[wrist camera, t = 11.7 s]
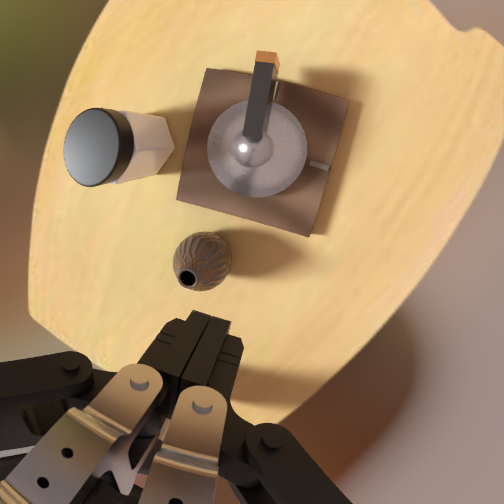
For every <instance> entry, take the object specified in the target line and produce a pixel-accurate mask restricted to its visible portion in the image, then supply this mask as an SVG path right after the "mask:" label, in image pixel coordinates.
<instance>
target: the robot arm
mask: <svg viewBox="0 0 504 504" xmlns="http://www.w3.org/2000/svg"><path fill="white" fill-rule="evenodd" d="M230 325H231V321H227V320H224V319H221V318H217V317H214V316H211V315H207V314H204V313H201V312H198V311H195V310H193V311H192V312H191V314H190V315H189V317H188V318H187V320H186V321H184V320H181V319H178V318H175V319H174V320H172V321H170V322H168V323H166V324H165V326H164V327H163V328H162V330H161V331H160V333H159V334H158V335H157V337H156V338H155V340H154V341H153V342H152V343H151V345H150V346H149V347H148V349H147V350H146V352H145V353H144V354H143V356H142V357H141V359H140V360H139V361H138V363H137V364H131V365H127V366H125V367H123V368H122V369H121V370H120V371H119V372H108V371H102V370H97V369H93V368H92V363H91V361H90V360H89V358H88V357H86V356H85V355H83V354H81V353H79V352H74V351H67V352H62V353H56V354H50V355H44V356H39V357H33V358H27V359H20V360H14V361H8V362H0V451H3V450H10V449H17V448H23V447H28V446H34V445H35V446H34V447H33V448H32V450H31V451H30V452H29V453H24V454H19V455H13V456H7V457H2V458H0V504H213V499H214V494H215V488H216V482H217V476H218V475H220V476H221V477H223V478H225V479H227V480H228V484H229V485H230V487H231V489H232V490H233V492H234V493H235V495H236V497H237V498H238V500H239V501H240V503H241V504H352V503H351V502H350V500H348V498H347V497H346V496H345V495H344V494H343V493H342V492H341V491H340V490H339V489H338V488H337V486H336V485H335V484H334V483H333V482H332V481H331V480H330V479H329V477H328V476H327V475H326V474H325V473H324V472H323V471H322V469H321V468H320V467H319V466H318V465H317V464H316V463H315V461H314V460H313V459H312V458H311V457H310V455H309V454H308V453H307V452H306V451H305V450H304V448H303V447H302V446H301V445H300V443H299V442H298V441H297V440H296V438H295V437H294V436H293V435H292V434H291V433H290V431H288V430H287V429H286V428H284V427H282V426H280V425H277V424H273V423H262V424H258V425H256V426H254V425H253V424H251V423H249V422H247V421H245V420H244V419H242V418H241V417H239V416H238V415H237V414H236V413H235V412H234V410H233V409H232V406H231V403H230V396H231V392H232V389H233V385H234V382H235V378H236V375H237V371H238V367H239V364H240V360H241V357H242V353H243V349H244V347H243V343H242V340H241V338H239V337H236V336H232V335H229V334H228V333H229V329H230ZM48 401H49V402H48ZM137 473H141V474H146V475H148V476H147V480H146V482H145V485H144V488H141V487H139V486H137V485H135V484H134V480H135V476H136V474H137Z"/></svg>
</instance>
